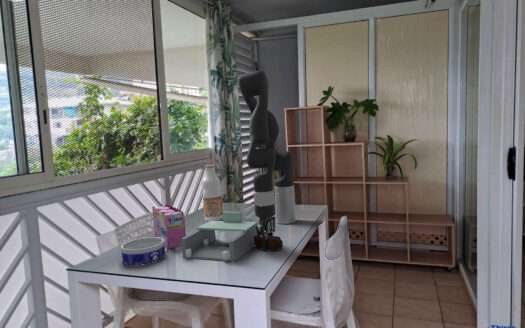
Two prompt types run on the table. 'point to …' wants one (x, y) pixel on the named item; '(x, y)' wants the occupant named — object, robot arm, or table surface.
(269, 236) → the brick
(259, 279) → the table surface
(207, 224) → the cover
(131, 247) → the dog bowl
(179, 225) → the gum box
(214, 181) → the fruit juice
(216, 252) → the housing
